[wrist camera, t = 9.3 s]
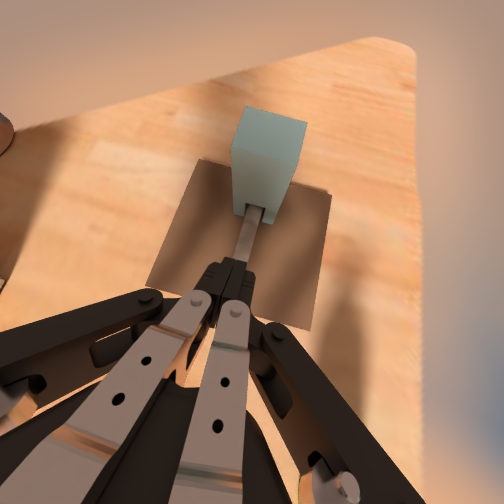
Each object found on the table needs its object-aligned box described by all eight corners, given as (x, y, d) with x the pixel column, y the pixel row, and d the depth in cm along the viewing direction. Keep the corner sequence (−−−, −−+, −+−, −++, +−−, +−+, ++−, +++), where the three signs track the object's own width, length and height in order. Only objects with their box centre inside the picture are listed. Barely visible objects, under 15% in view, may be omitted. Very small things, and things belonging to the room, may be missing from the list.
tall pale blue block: (233, 214, 23) (230, 146, 13) (242, 186, 24) (245, 105, 14) (272, 224, 23) (297, 164, 13) (279, 196, 24) (307, 122, 14)
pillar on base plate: (151, 287, 22) (120, 279, 16) (201, 166, 26) (191, 128, 21) (305, 329, 22) (329, 337, 16) (326, 201, 26) (351, 172, 21)
